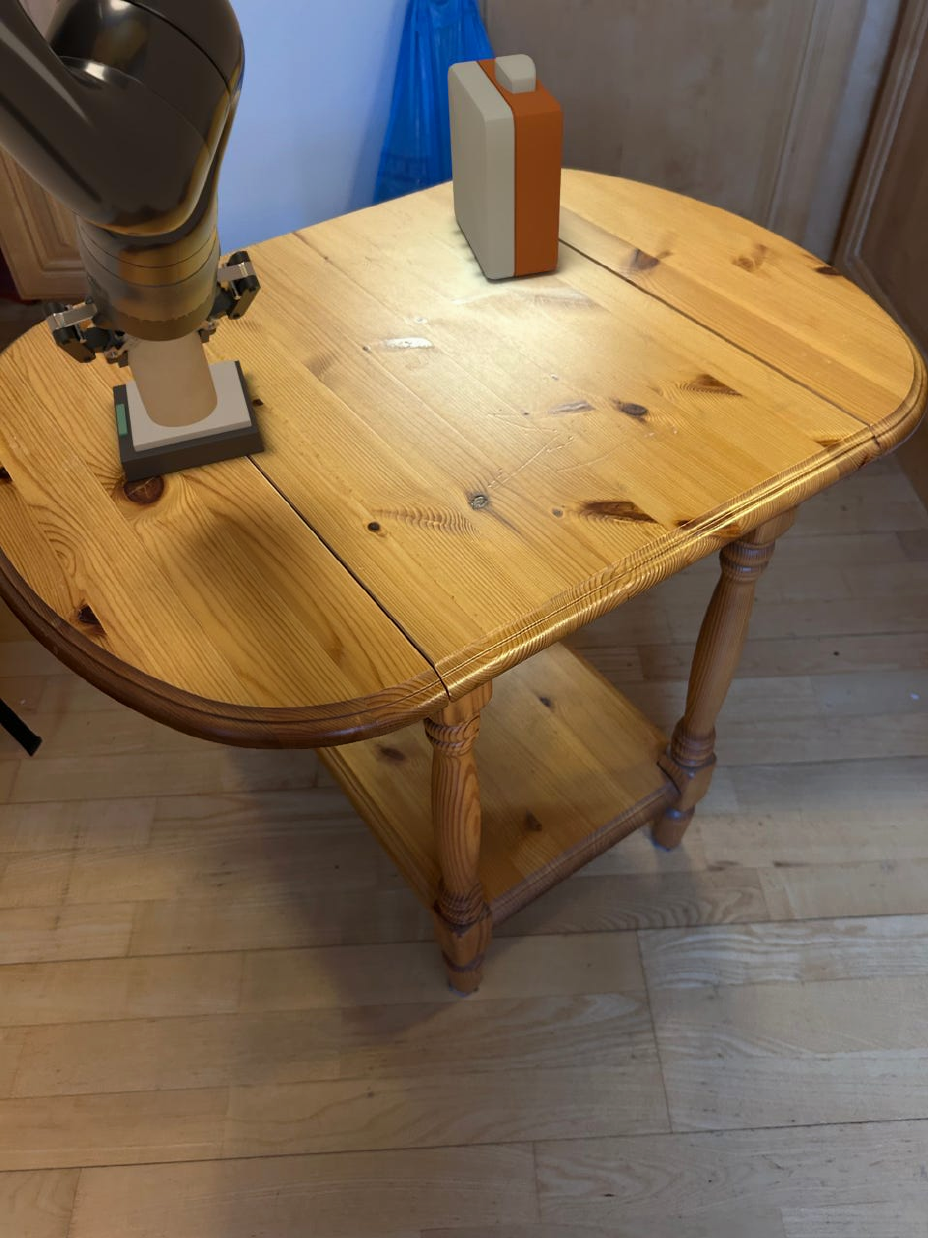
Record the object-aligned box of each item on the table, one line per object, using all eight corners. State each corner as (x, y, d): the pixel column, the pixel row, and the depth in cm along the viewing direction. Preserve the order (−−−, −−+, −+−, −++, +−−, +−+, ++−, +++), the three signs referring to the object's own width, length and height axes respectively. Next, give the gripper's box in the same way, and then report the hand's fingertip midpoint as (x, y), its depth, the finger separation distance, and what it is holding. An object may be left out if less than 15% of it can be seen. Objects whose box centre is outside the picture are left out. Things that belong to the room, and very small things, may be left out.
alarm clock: (559, 274, 108) (566, 84, 92) (488, 285, 107) (483, 95, 91) (517, 208, 120) (518, 30, 104) (453, 217, 119) (444, 39, 103)
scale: (128, 482, 85) (117, 455, 83) (120, 405, 94) (109, 379, 91) (264, 451, 88) (257, 424, 85) (244, 379, 96) (237, 353, 93)
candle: (132, 420, 69) (86, 299, 62) (174, 381, 73) (135, 262, 65) (192, 434, 68) (153, 312, 60) (232, 394, 71) (199, 273, 64)
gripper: (245, 161, 53) (231, 269, 69) (-5, 221, 49) (42, 321, 65) (293, 283, 54) (268, 362, 70) (50, 352, 50) (83, 419, 66)
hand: (159, 342), depth 68 cm, fingers closed on candle, 5 cm apart
